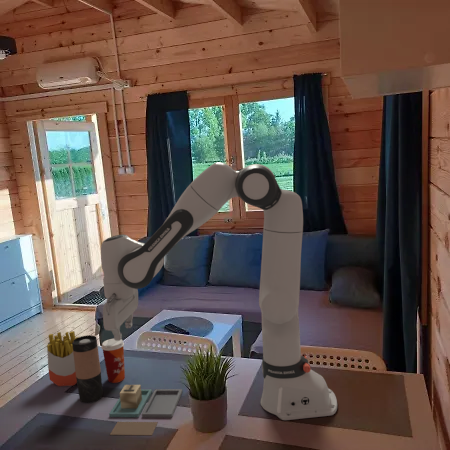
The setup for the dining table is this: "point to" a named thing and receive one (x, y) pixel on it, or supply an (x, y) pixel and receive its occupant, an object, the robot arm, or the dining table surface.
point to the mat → (134, 428)
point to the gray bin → (162, 403)
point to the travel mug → (87, 368)
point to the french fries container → (61, 359)
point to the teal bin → (129, 412)
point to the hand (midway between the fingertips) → (123, 333)
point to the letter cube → (130, 396)
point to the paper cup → (114, 360)
